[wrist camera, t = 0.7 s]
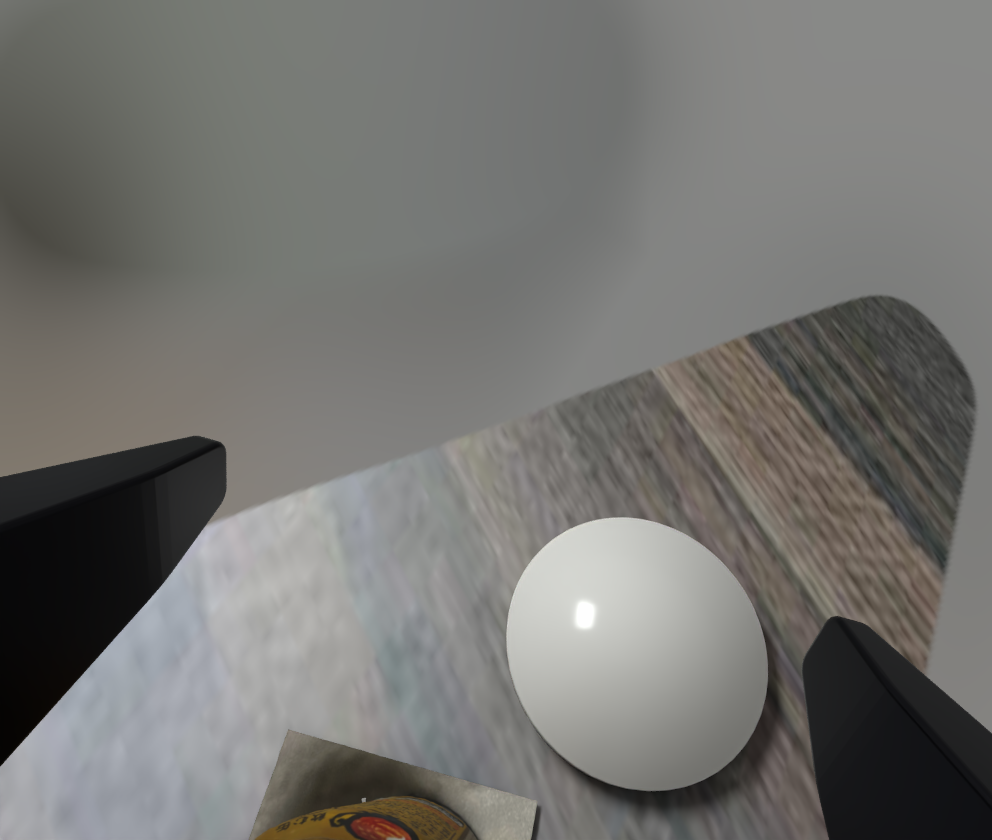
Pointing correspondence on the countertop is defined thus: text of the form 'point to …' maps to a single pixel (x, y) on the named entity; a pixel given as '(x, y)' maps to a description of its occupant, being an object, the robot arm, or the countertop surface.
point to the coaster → (636, 654)
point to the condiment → (379, 800)
